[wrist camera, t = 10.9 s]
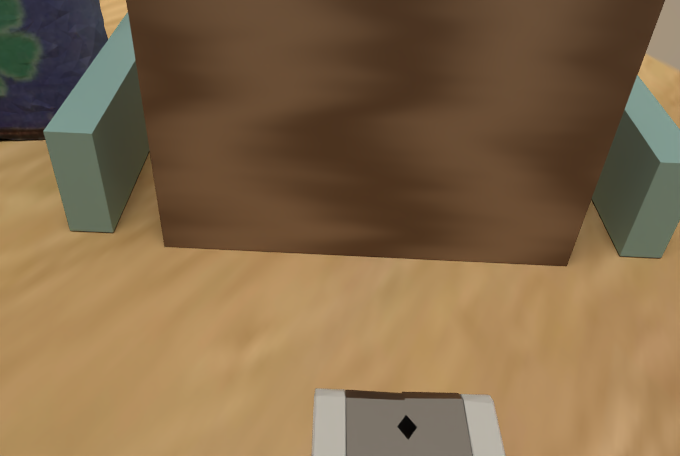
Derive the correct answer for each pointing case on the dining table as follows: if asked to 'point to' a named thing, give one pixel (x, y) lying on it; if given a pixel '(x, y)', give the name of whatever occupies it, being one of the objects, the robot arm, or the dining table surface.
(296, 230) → the t block
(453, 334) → the dining table surface
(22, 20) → the flask
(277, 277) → the dining table surface
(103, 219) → the fence
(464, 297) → the dining table surface
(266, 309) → the dining table surface
